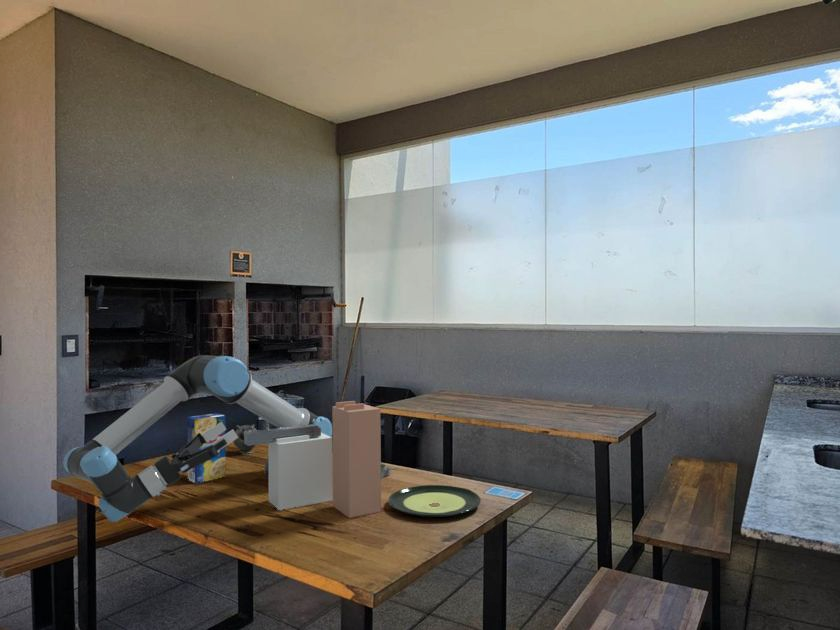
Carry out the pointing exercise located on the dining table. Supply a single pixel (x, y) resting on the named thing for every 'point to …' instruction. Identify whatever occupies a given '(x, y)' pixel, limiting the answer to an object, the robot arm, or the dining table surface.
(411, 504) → the plate
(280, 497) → the rest
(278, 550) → the dining table surface
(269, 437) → the t bar
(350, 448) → the stand
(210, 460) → the beverage box
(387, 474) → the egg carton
